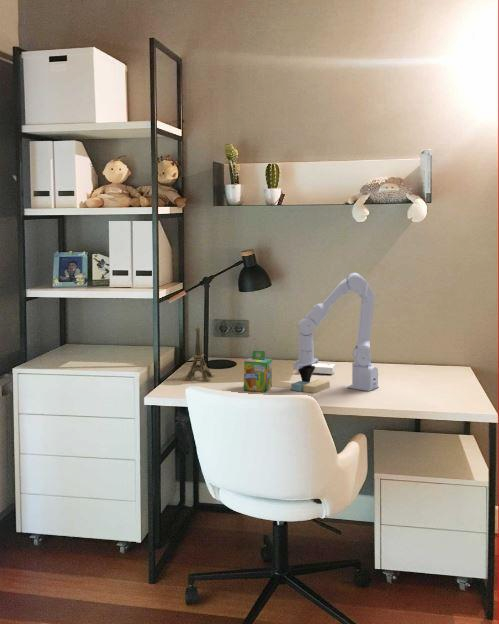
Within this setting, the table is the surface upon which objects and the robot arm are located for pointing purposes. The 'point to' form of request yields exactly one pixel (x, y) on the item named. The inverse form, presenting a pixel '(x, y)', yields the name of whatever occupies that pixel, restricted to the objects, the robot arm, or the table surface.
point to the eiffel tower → (202, 365)
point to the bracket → (324, 368)
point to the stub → (298, 385)
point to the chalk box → (258, 373)
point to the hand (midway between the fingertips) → (305, 384)
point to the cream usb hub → (316, 386)
